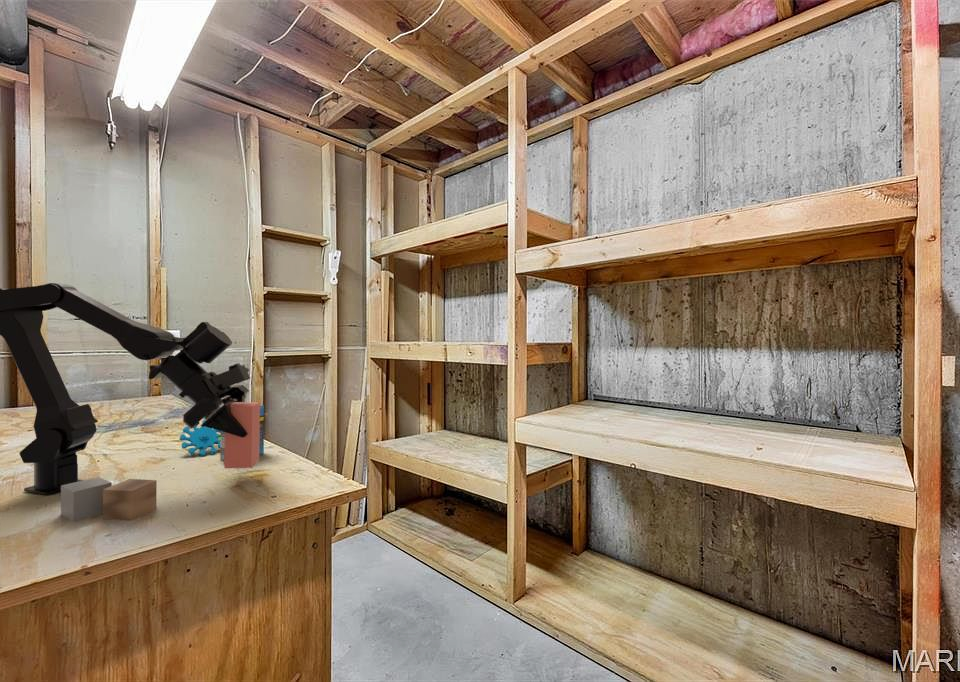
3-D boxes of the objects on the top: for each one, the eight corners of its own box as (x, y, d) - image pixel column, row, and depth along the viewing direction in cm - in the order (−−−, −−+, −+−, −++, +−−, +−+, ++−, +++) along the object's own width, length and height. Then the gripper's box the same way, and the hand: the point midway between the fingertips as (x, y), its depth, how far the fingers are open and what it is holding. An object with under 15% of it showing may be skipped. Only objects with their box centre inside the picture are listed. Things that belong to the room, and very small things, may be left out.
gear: (177, 453, 101) (182, 417, 107) (174, 466, 104) (179, 430, 110) (231, 452, 107) (233, 419, 113) (226, 465, 110) (228, 431, 116)
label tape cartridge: (254, 451, 109) (254, 403, 109) (264, 453, 108) (264, 405, 107) (219, 460, 101) (219, 408, 101) (229, 463, 100) (230, 410, 99)
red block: (224, 468, 86) (225, 406, 86) (233, 460, 91) (234, 402, 90) (251, 467, 87) (252, 406, 86) (259, 460, 92) (260, 402, 91)
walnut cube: (102, 519, 71) (102, 489, 70) (129, 506, 76) (129, 478, 75) (131, 521, 70) (131, 491, 70) (156, 508, 75) (156, 480, 75)
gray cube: (61, 514, 72) (60, 485, 72) (98, 504, 76) (98, 476, 76) (73, 522, 69) (73, 491, 69) (111, 511, 74) (111, 482, 74)
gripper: (202, 355, 78) (266, 414, 81) (239, 349, 96) (290, 397, 99) (153, 397, 77) (220, 456, 79) (200, 383, 95) (253, 431, 98)
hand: (250, 432), depth 89 cm, fingers closed on red block, 5 cm apart
